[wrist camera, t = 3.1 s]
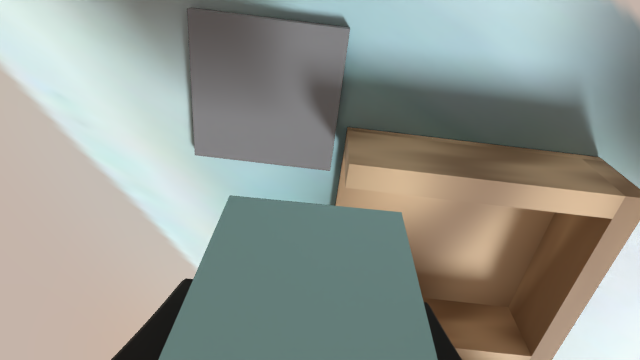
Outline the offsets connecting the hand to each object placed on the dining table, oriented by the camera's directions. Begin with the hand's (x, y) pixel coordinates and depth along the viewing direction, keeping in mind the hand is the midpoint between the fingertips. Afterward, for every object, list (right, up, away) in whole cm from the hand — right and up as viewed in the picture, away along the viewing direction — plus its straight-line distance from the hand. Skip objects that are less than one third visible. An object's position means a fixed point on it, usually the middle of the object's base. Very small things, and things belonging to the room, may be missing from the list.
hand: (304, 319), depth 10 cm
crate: (+6, +1, +10) cm, 12 cm away
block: (0, +1, +2) cm, 2 cm away
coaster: (-2, +7, +7) cm, 10 cm away
